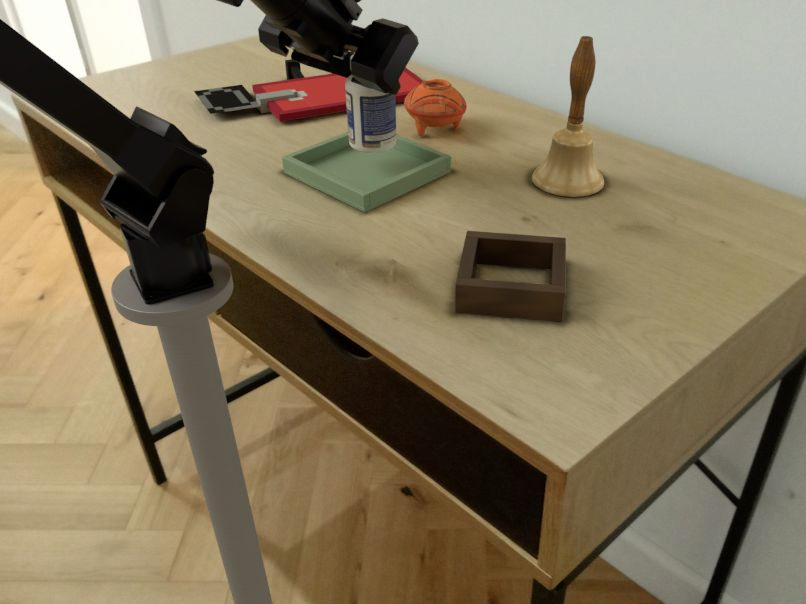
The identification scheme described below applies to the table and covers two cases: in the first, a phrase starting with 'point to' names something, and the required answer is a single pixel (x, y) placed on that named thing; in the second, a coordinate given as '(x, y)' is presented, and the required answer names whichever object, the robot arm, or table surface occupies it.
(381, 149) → the pill bottle
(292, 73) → the red board with handle
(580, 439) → the table surface
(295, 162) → the tray
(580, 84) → the hand bell
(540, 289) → the bottle holder
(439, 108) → the pot
